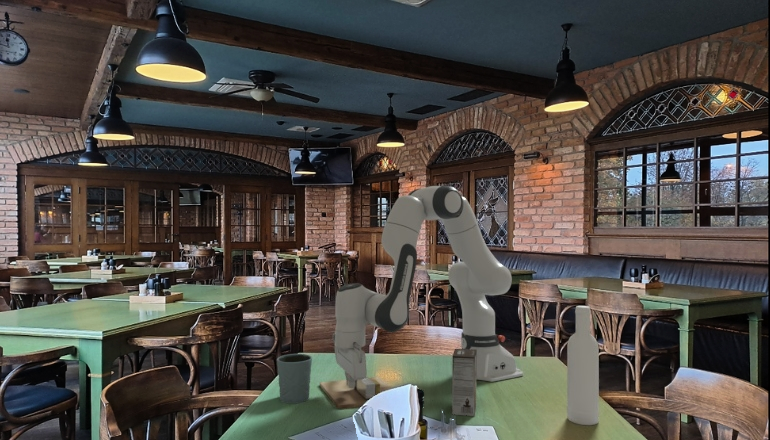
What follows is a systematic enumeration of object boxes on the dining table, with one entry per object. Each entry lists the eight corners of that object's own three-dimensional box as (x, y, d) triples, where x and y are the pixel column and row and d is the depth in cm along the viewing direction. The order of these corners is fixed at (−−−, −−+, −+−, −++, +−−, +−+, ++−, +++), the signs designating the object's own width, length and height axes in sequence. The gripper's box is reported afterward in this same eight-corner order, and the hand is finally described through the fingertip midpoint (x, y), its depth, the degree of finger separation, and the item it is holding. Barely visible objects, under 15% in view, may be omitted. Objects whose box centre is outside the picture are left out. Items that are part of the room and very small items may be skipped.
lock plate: (378, 379, 173) (378, 364, 173) (404, 401, 152) (405, 384, 152) (319, 385, 166) (319, 369, 167) (338, 409, 145) (338, 391, 145)
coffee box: (454, 403, 150) (454, 347, 150) (476, 405, 149) (476, 349, 149) (451, 414, 141) (452, 355, 141) (475, 416, 140) (476, 356, 140)
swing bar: (352, 387, 161) (352, 372, 161) (363, 386, 162) (363, 371, 162) (364, 399, 150) (364, 382, 150) (376, 397, 151) (376, 381, 151)
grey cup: (317, 395, 157) (317, 355, 157) (301, 406, 147) (301, 363, 147) (287, 391, 160) (287, 352, 160) (269, 401, 151) (270, 360, 151)
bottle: (562, 415, 142) (562, 304, 142) (589, 414, 142) (589, 304, 143) (575, 426, 134) (575, 308, 134) (604, 425, 134) (604, 308, 135)
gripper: (372, 346, 144) (372, 396, 144) (350, 332, 163) (350, 376, 163) (350, 348, 142) (350, 399, 142) (331, 333, 161) (331, 378, 161)
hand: (350, 386), depth 153 cm, fingers closed
